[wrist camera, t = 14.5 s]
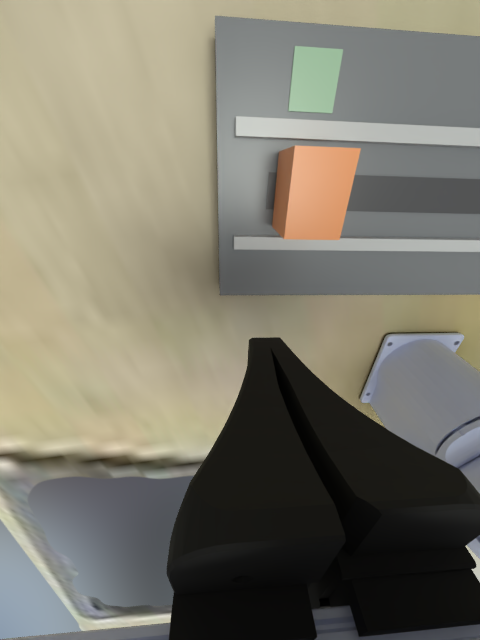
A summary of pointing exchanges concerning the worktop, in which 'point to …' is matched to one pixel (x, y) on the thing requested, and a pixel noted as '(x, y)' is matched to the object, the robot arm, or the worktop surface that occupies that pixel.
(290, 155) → the knob
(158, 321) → the worktop surface
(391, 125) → the panel
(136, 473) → the worktop surface
